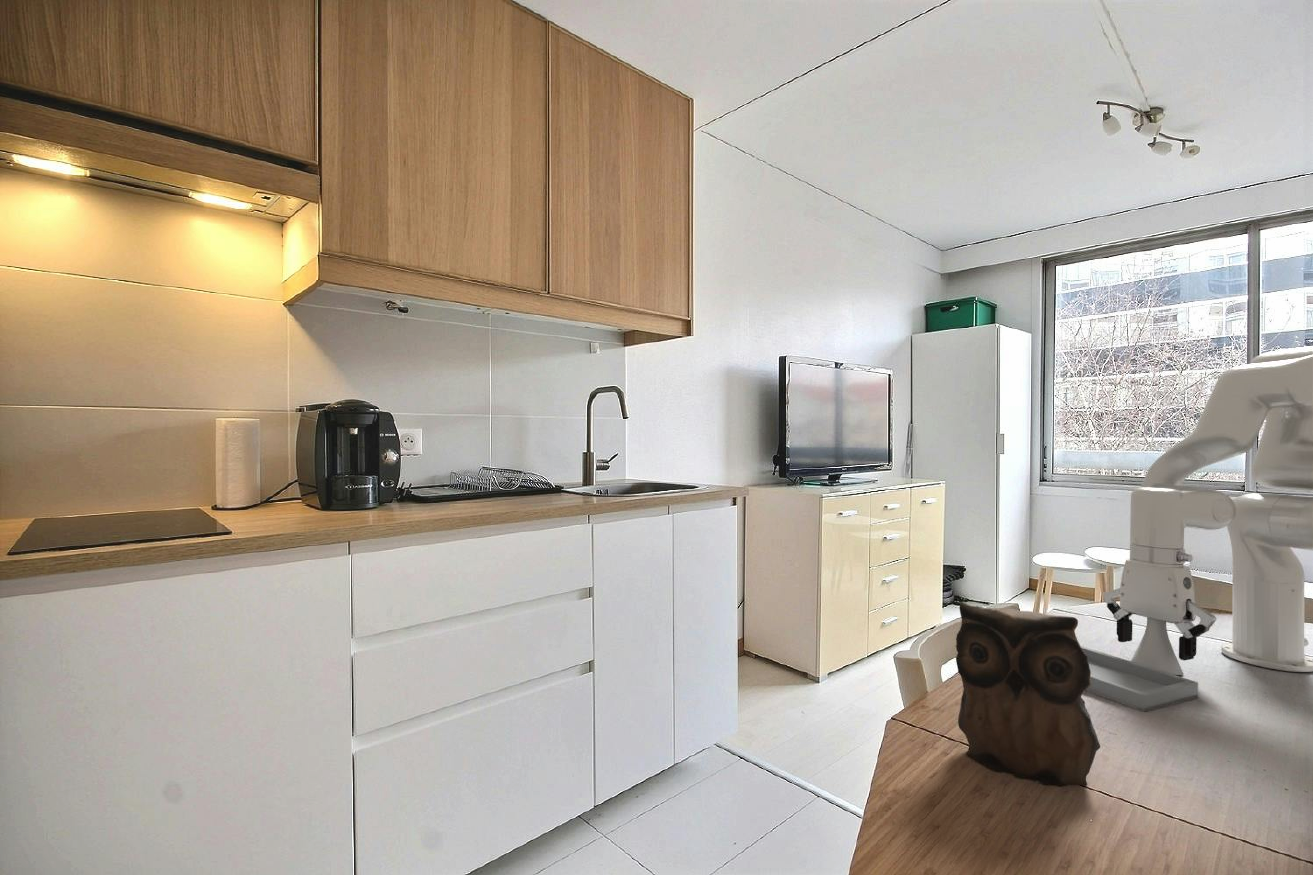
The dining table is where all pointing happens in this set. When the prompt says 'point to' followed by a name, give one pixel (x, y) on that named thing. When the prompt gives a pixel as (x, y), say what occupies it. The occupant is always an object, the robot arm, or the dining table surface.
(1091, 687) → the tray
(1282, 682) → the dining table surface
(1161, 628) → the flask
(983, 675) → the owl
